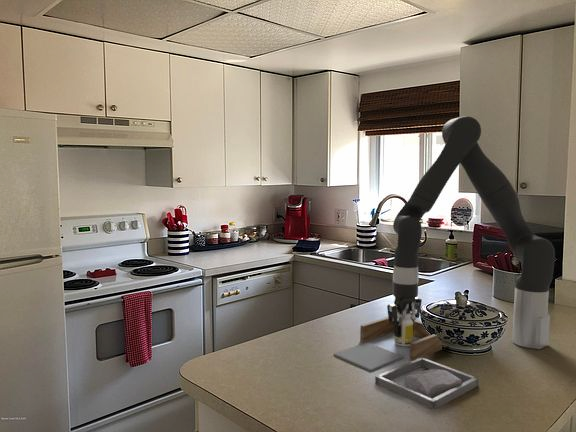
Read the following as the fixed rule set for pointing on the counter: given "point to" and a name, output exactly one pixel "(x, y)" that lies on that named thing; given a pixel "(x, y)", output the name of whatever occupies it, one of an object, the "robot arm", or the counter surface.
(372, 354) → the mat
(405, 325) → the supplement bottle
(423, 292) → the counter surface
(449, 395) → the metal tray
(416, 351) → the open wooden tray
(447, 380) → the stone block
